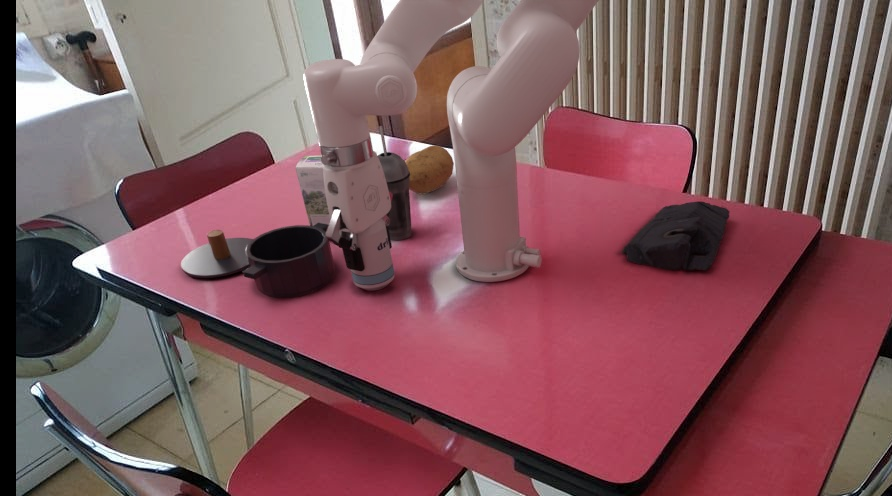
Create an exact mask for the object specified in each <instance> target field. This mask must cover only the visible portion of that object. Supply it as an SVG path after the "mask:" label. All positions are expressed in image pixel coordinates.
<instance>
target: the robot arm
mask: <svg viewBox="0 0 892 496" xmlns="http://www.w3.org/2000/svg"><path fill="white" fill-rule="evenodd" d="M484 1H485V0H399V1H398V2H397V3H396V5H395V6H393V9H392V10H391V11H390V12H389V14H388V16H387V17H386V19H385V20H384V22H383V23H382V24H381V26H380V28H379V29H378V31H377V32H376V34H375V35H374V37H373V38H372V40H371V41H370V42H369V45H368V46H367V47H366V49H365V51H364V53H363V55H362V56H361V59H360V63H359V64H357V65H355V64H354V62H352V61H351V60H348V59H344V58H332V59H331V58H330V59H324V60H319V61H315V62H313V63H310V64H309V65H308V66H307V67H306V68H305V69H304V71H303V81H304V87H305V93H306V96H307V100H308V105H309V108H310V112H311V117H312V122H313V125H314V129H315V134H316V138H317V142H318V146H319V151H320V154H321V155H322V157H321V162H322V163H323V164H324V166H325V167H324V168H323V176H324V187H325V194H326V201H327V206H328V211H329V215H330V219H331V220H330V223H329V226H328V228H327V231H326V234H325V236H326V238H327V239H329V242H331V243H333V244H334V245H335V246H337V247H338V248H339V249H341V250H342V253H343V258H344V262H345V266H346V269H347V270H350V271H351V270H356V271H363V270H364V268H365V267H364V263H363V258H362V254H361V249H360V248H359V247H357V239H358V233H361V232H363V231H364V230H366V229H367V228H369V227H370V226H371V225H372V224H374V223H375V222H376V221H378V220H379V219H381V218H382V219H383V221H384V222H385V226H386V231H387V236H388V241H389V246H390V250H391V249H392V248H393V245H392V240H391V239H390V234H389V229H388V225H389V223H390V220H389V218H388V217H389V213H390V210H391V201H392V197H393V194H392V193H391V192H389V191H388V187H387V183H386V179H385V175H384V172H383V169H382V166H381V163H380V161H379V158H378V154H377V152H376V151H374V149H373V143H372V138H371V132H370V127H369V122H368V117H367V116H378V117H379V116H380V117H390V116H397V115H401V114H403V113H406V111H408V110H409V109H411V107H412V106H413V105H414V103H415V101H416V99H417V95H418V83H417V79H416V76H415V72H416V70H417V68H418V66H420V64H421V62H422V61H423V60H424V59H425V57H426V56H427V54H428V53H429V51H430V50H431V49H432V48H433V46H434V45H436V43H437V42H438V41H439V40H440V39H441V38H442V37H443V36H444V35H445V34H447V33H448V32H450V30H453V29H454V28H456V27H458V26H461V25H462V24H464V23H465V22H467V21H469V20H470V18H472V17H473V16H474V15H475V13H476V12H477V11H478V10H479V9H480V6H481V5H482V4H483V2H484ZM599 1H600V0H519V2H518V3H517V5H516V6H515V7H514V8H513V9H512V11H511V12H510V13H509V14H508V16H507V17H505V20H504V21H503V22H502V24H501V25H500V27H499V30H498V32H497V35H496V36H497V37H496V50H497V53H498V56H499V59H498V60H497V61H496V63H495V64H494V65H493V67H492V68H490V67H487V66H481V65H475V66H470V67H467V68H465V69H463V70H461V71H460V72H459V73H458V74H456V76H455V77H454V78H453V79H452V81H451V83H450V85H449V88H448V91H447V95H446V114H447V121H448V125H449V131H450V139H451V144H452V145H451V146H452V151H453V159H454V160H453V161H454V167H455V168H454V169H455V175H456V176H455V177H456V187H457V195H458V204H459V205H458V206H459V214H460V224H461V235H462V243H463V250H462V251H461V252H460V253H459V254H458V255H457V257H456V260H455V264H456V265H455V266H456V270H457V272H458V273H459V274H460V275H461V276H463V277H464V278H467V279H469V280H472V281H475V282H482V283H496V282H497V283H498V282H503V281H507V280H511V279H514V278H517V277H518V276H520V275H523V273H525V272H526V271H527V270H528V268H529V267H532V268H538V269H539V268H540V267H541V265H542V261H543V260H542V259H543V257H542V256H541V254H542V253H541V252H542V251H541V249H539V248H534V247H533V248H530V247H529V246H528V245H527V238H526V237H525V236H521V232H520V231H521V229H520V228H521V227H520V212H519V210H520V209H519V193H518V169H517V167H518V166H517V155H516V153H517V151H516V147H517V146H518V145H519V144H520V143H521V142H522V141H523V140H524V139H525V138H526V137H527V136H528V135H529V133H530V132H531V131H532V130H533V129H534V127H535V126H536V125H537V124H538V122H540V120H541V119H542V117H544V115H545V114H546V113H547V112H548V110H550V108H551V107H552V106H553V104H554V103H555V102H556V101H557V100H558V98H559V97H560V95H561V94H562V93H563V92H564V91H565V89H566V88H567V87H568V85H569V84H570V82H571V81H572V79H573V77H574V75H575V73H576V72H577V68H578V65H579V60H580V54H581V49H580V41H579V38H578V35H577V33H576V32H577V31H578V30H579V28H580V27H581V26H582V25H583V24H584V22H585V20H586V19H587V17H588V16H589V15H590V13H591V12H592V11H593V9H594V8H595V6H596V5H597V3H598V2H599ZM346 227H347V228H346ZM346 232H348V233H350V241H349V240H348V239H346Z"/></svg>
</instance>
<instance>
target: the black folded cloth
mask: <svg viewBox="0 0 892 496" xmlns="http://www.w3.org/2000/svg"><path fill="white" fill-rule="evenodd" d="M729 218H730V210H729V208H727V207H723V206H719V205H716V204H711V203H710V202H705V201H702V200H701V201H690V202H685V203H681V204H670V205H665V206H664V207H662V208H661V209H660V210H659V211H658V212H657V213H656V214H655V215H654V217H653V218H651V219H650V220H649V221H648V223H646V224H645V225H644V226H643V227H642V228H640V230H639V231H638V232H637V233H635V235H634V236H633V237H632V238H631V239H630V241H629V242H628V243H627V244H626V245H625V246H624V247H623V248H622V251H621V253H622V254H623V255H625V256H626V260H627V262H629V263H633V264H637V265H640V266H641V265H646V266H650V267H653V268H658V269H661V270H665V271H675V272H679V271H687V272H692V271H697V270H700V271H708V270H710V269H711V267H712V266H713V263H714V261H715V260H716V256H717V255H718V251H719V249H720V245H721V242H722V241H723V237H724V235H725V230H726V226H727V221H728V220H729Z"/></svg>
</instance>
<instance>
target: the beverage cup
mask: <svg viewBox="0 0 892 496" xmlns="http://www.w3.org/2000/svg"><path fill="white" fill-rule="evenodd" d="M379 133H380V138H381V144H382V149H383V152H382V153H379V154H377V156H378V158H379V161H380V163H381V166H382V169H383V172H384V175H385V179H386V183H387V187H388V191H389V192H391V193H392V194H393V197H392V201H391V210H390V213H389V217H388V218H389V220H390V223H389V225H388V229H389V234H390V239H391V241H402V240H403V241H404V240H406V239H409V238H410V237H411V236H412V215H411V200H410V198H411V197H410V190H409V182H410V177H409V176H410V172H409V170H408V167H407V164H406V163H405V161H406V160H404V159H403V157H401V156H400V155H399V154H397V153H395V152H390V151H388V149H387V145H386V139H385V134H384V133H385V132H384V129H383V126H382V125H380V126H379Z"/></svg>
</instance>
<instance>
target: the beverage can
mask: <svg viewBox="0 0 892 496" xmlns="http://www.w3.org/2000/svg"><path fill="white" fill-rule="evenodd" d="M346 228H347V227H346ZM346 239H348V240H349V241H350V233H348V232H346ZM357 247H359V248H360V249H361V254H362V258H363V263H364V267H365V268H364V270H363V271H356V270H351V269H350V273H351V277H352V281H353V284H354V285H355V286H356V287H357V288H361V289H363V290H365V291H378V290H382V289H384V288H386V287H387V286H388V285H389V284H390V283H392V282H393V281H394V279H395V277H396V274H395V268H394V263H393V262H394V261H393V257H392V252H391V249H390V246H389V241H388V236H387V231H386V226H385V222H384V221H383V219H382V218H381V219H379V220H378V221H376V222H375V223H374V224H372V225H371V226H370V227H369V228H367V229H366V230H364V231H363V232H361V233H358V239H357Z"/></svg>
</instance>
